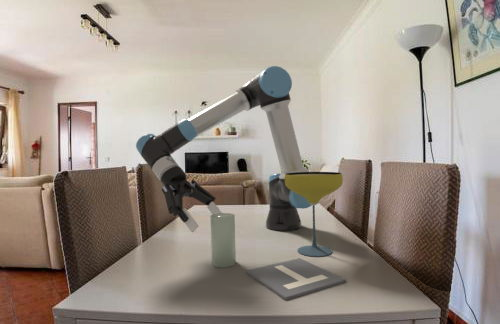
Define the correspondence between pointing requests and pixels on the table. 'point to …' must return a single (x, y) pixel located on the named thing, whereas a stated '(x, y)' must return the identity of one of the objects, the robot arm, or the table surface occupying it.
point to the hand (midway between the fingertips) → (209, 224)
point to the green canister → (223, 240)
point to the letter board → (294, 278)
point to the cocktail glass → (314, 198)
